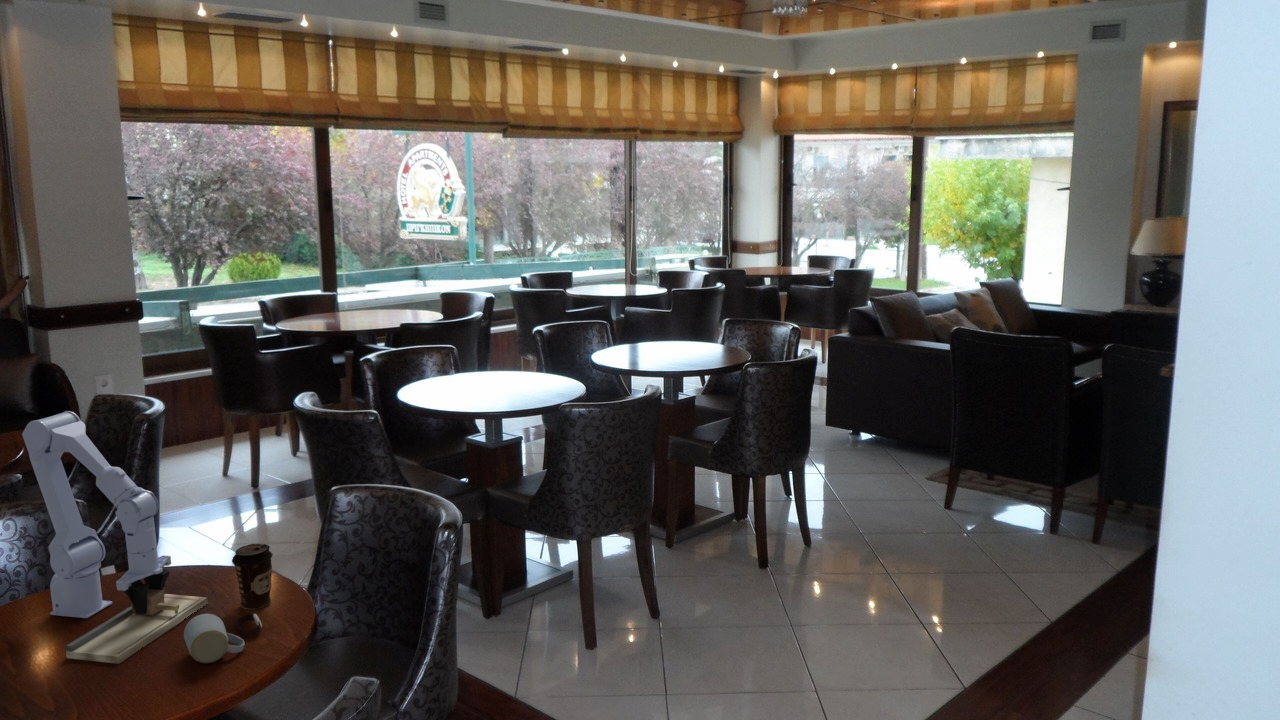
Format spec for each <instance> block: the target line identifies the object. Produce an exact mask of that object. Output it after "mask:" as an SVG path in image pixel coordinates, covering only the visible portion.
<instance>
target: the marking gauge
mask: <svg viewBox="0 0 1280 720" xmlns="http://www.w3.org/2000/svg"><path fill="white" fill-rule="evenodd" d="M130 605H131V606H132V614H138V613H136V611H135V609H134V607H133V604H132V602H131V601H130ZM178 609H179V604H168V603H165V601H164V592H163V590H154V589H148V592H147V611H146V613H145V614H142V615H152V616H153V615H154V614H156V613H158V612H159V611H161V610H172V611H175V614H177V613H178Z"/></svg>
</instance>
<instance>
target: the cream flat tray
mask: <svg viewBox="0 0 1280 720" xmlns="http://www.w3.org/2000/svg"><path fill="white" fill-rule="evenodd" d="M163 592H164V601H165V603H168V604H179V609H178V613H177V614H175V611H172V610H161V611H159V612H158V613H156V614H154V615H153V616H152V615H142V614H132V606H128V607H127V608H125V609H124V610H123V611H121V612H119V613H117V614H116V615H114V616H112V617H111V618H109V619H107V620H106V621H105V622H103V623H101V624H99V625H97V626H96V627H94V628H92V629H91V630H90V631H87V632H86V633H85V634H83V635H81V636H79V637H77V638H76V639H74V640H73V641H71V642H70V643H67V644H66V645H65V648H66V649H65V650H66V651H65V655H66V659H69V660H70V659H71V660H72V659H73V660H80V661H81V660H82V661H89V662H97V663H98V662H99V663H109V664H121V663H122V662H124V661H125V660H127V659H128V658H130V657H131V656H133V655H134V654H136V653H137V652H139V651H140V650H141V648H142V647H143V648H145V647H146V646H147V644H148V645H149V644H151V643H152V642H154V641H155V640H156V639H159V637H161V636H163V635H164V634H166V632H168V631H170V630H172V629H173V628H174V627H176V626H177V625H178V624H180V623H181V622H183V621H185V620H186V619H188V618H189V617H190V615H191V614H192V613H193V614H195V613H196V612H198V611H199V610H201V609H202V608H204V607H206V606H207V605H208V604H209V601H208V597H207V596H206V597H205V596H194V595H191V596H190V595H181V594H173V593H172V594H170V593H166V589H165V588H164V589H163ZM206 604H207V605H206ZM203 606H204V607H203ZM200 608H201V609H200ZM198 609H199V610H198ZM197 610H198V611H197ZM194 612H195V613H194ZM193 614H192V615H193ZM192 615H191V616H192ZM188 616H189V617H188ZM187 617H188V618H187ZM185 618H186V619H185ZM184 619H185V620H184ZM143 648H142V649H143ZM138 650H139V651H138Z"/></svg>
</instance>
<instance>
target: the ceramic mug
mask: <svg viewBox="0 0 1280 720" xmlns="http://www.w3.org/2000/svg"><path fill="white" fill-rule="evenodd" d="M185 625H186V626H185V628H184V629H183V630H184V631H183V639H184V642H185V644H186V647H187V650H188V652H189V654H190V656H191V657H192V659H194V660H195V661H196V662H198V663H201V664H212V663H215V662H217V661H219V660H220V659H222V657H224V655H225V654H226V653H230V654H231V653H232V654H238V653H239V654H240V653H241V652H243V651H244V648H245V645H246V644H245V641H244V639H243V638H241V637H240V636H238V635H235V634H234V633H229V632H227V630H226V626H225V624H224V621H223V620H222V619H221V617H219V616H217V615H216V614H212V613H202V614H198V615H196V616H195V617H193V618H192V619H190V620H189V621H188V622H187V624H185ZM229 642H230V643H233V644H235V645H232V644H229Z"/></svg>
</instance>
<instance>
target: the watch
mask: <svg viewBox="0 0 1280 720" xmlns="http://www.w3.org/2000/svg"><path fill="white" fill-rule="evenodd" d="M250 621H251V622H252V621H253V622H254V623H255V624H256V625H257V626H256V627H254V628H251V629H247V630H245V629H243V628H242V626H243V625H244V624H245V623H247V622H250ZM236 626H237V630H238V632H239V634H240V633H241V635H242V636H244V637H248V638H249V637H255V636H257V635H259V634H260V633H261V632H262V628H263V625H262V622H261V619H260V617H259V616H258V615H257V613H253V614H252V613H246V614H244V615H242V616H240V617H239V618H238V620H237V622H236Z"/></svg>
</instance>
